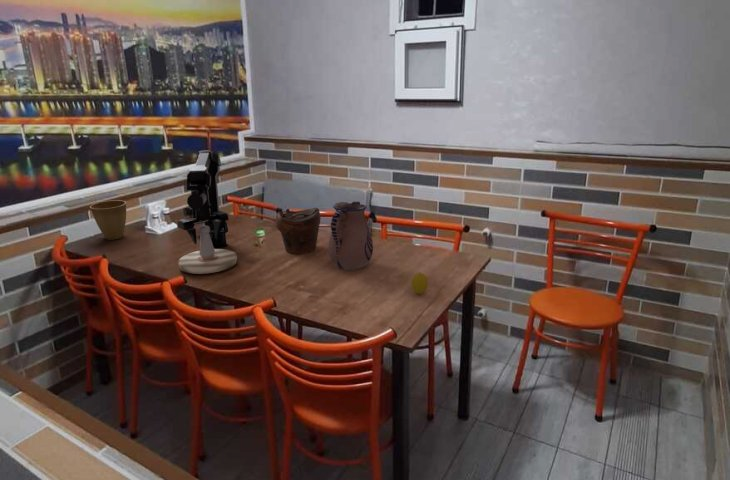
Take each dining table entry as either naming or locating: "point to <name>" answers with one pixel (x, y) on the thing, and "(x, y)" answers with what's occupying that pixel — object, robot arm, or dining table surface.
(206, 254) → the salt shaker
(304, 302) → the dining table surface
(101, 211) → the plant pot
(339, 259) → the ceramic pitcher
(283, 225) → the brown tapered round container
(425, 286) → the lemon
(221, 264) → the lazy susan
